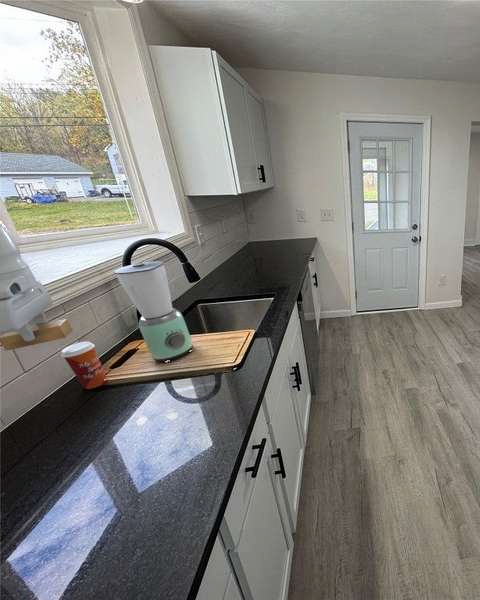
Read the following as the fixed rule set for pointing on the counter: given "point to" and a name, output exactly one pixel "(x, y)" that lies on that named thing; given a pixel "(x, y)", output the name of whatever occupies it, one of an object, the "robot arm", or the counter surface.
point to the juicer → (156, 310)
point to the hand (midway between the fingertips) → (37, 334)
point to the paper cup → (85, 364)
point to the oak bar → (37, 334)
